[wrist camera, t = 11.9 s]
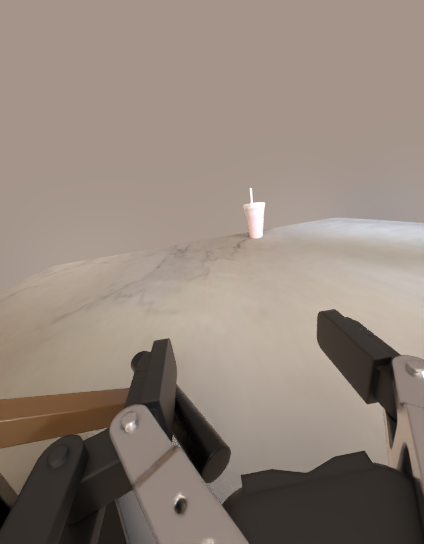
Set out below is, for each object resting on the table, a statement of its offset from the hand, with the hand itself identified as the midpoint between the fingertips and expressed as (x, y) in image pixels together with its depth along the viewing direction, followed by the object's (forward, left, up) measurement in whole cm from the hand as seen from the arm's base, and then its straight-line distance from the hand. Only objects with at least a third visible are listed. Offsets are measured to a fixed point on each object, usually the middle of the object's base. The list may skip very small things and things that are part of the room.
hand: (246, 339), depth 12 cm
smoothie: (+43, +39, -8) cm, 59 cm away
